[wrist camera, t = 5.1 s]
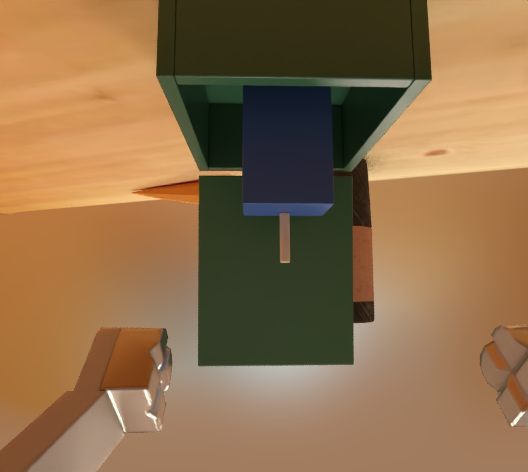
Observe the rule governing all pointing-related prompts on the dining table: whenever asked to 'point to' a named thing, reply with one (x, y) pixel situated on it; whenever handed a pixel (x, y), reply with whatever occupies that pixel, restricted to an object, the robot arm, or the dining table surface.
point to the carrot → (175, 192)
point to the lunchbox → (290, 66)
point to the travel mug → (361, 245)
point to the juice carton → (287, 154)
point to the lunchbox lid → (273, 282)
